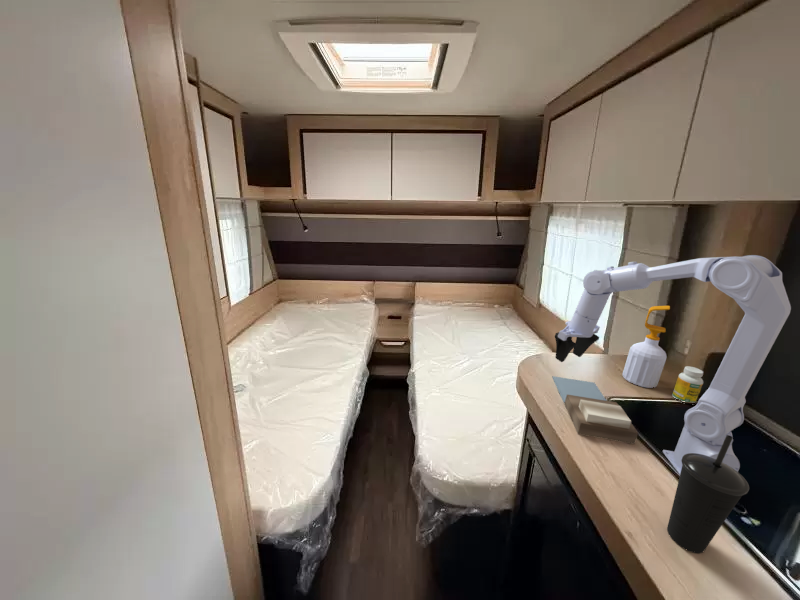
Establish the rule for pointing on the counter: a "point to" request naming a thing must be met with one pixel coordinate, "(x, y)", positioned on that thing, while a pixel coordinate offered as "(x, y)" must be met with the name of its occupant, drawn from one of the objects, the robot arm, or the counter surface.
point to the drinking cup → (704, 498)
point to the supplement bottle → (688, 384)
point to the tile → (604, 414)
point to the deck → (595, 428)
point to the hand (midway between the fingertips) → (568, 357)
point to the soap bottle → (646, 357)
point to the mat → (577, 388)
